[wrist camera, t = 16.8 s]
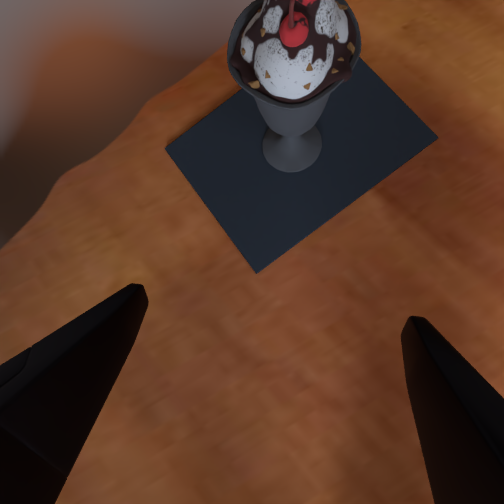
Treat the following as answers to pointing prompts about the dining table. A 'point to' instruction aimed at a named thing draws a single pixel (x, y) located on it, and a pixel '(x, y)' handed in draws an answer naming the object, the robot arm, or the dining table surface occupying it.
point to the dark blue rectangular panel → (302, 182)
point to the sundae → (293, 69)
